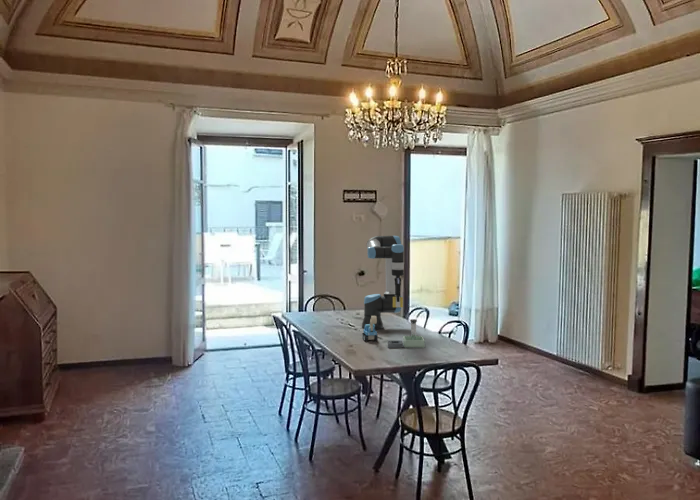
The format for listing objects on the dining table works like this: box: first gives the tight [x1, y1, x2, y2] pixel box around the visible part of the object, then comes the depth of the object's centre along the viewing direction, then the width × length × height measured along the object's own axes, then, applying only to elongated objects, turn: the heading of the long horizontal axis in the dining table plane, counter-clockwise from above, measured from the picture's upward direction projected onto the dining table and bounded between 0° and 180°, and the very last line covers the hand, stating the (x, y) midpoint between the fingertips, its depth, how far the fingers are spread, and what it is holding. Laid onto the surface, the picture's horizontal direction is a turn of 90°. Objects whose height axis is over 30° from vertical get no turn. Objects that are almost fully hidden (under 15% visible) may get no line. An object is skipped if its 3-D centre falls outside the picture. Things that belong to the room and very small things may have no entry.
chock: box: [393, 296, 404, 308], centre depth 373 cm, size 4×6×6 cm, turn 90°
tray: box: [402, 335, 426, 349], centre depth 363 cm, size 12×12×4 cm
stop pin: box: [409, 318, 418, 340], centre depth 363 cm, size 4×4×15 cm
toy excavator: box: [361, 316, 379, 342], centre depth 376 cm, size 9×17×17 cm, turn 11°
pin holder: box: [386, 340, 404, 349], centre depth 362 cm, size 9×9×2 cm
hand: (397, 306), depth 373 cm, fingers closed on chock, 4 cm apart
